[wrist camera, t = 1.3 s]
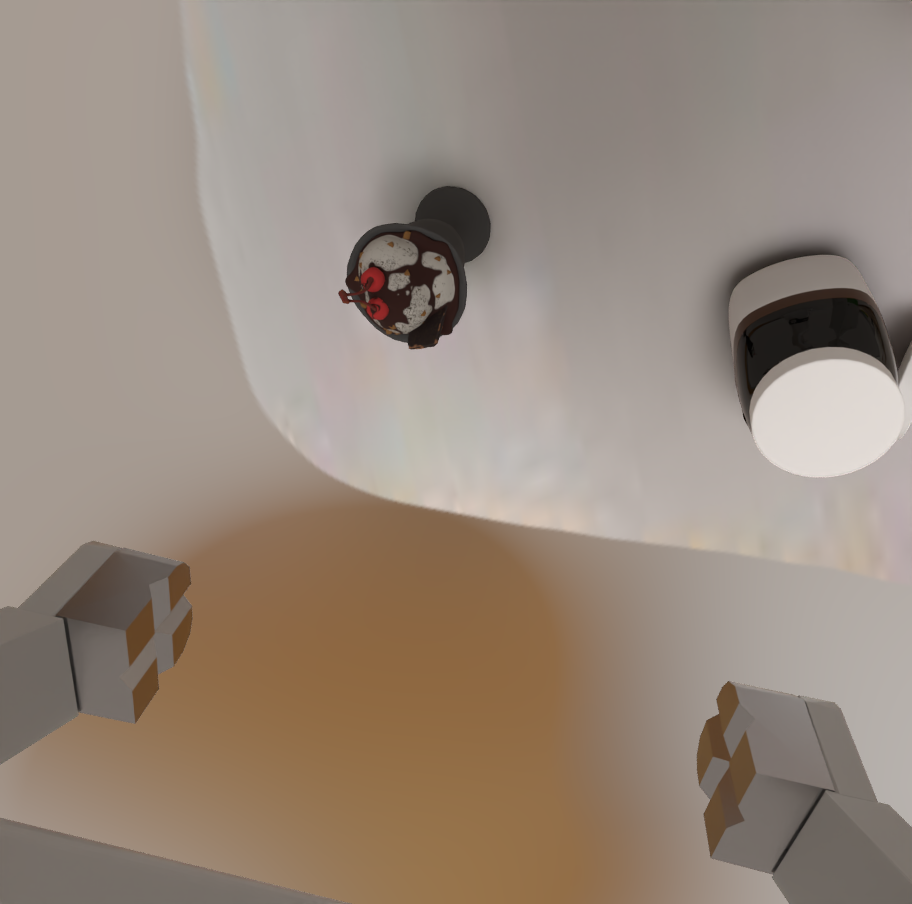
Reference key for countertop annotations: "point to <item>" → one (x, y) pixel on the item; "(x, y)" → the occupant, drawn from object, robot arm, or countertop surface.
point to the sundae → (419, 268)
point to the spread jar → (817, 367)
